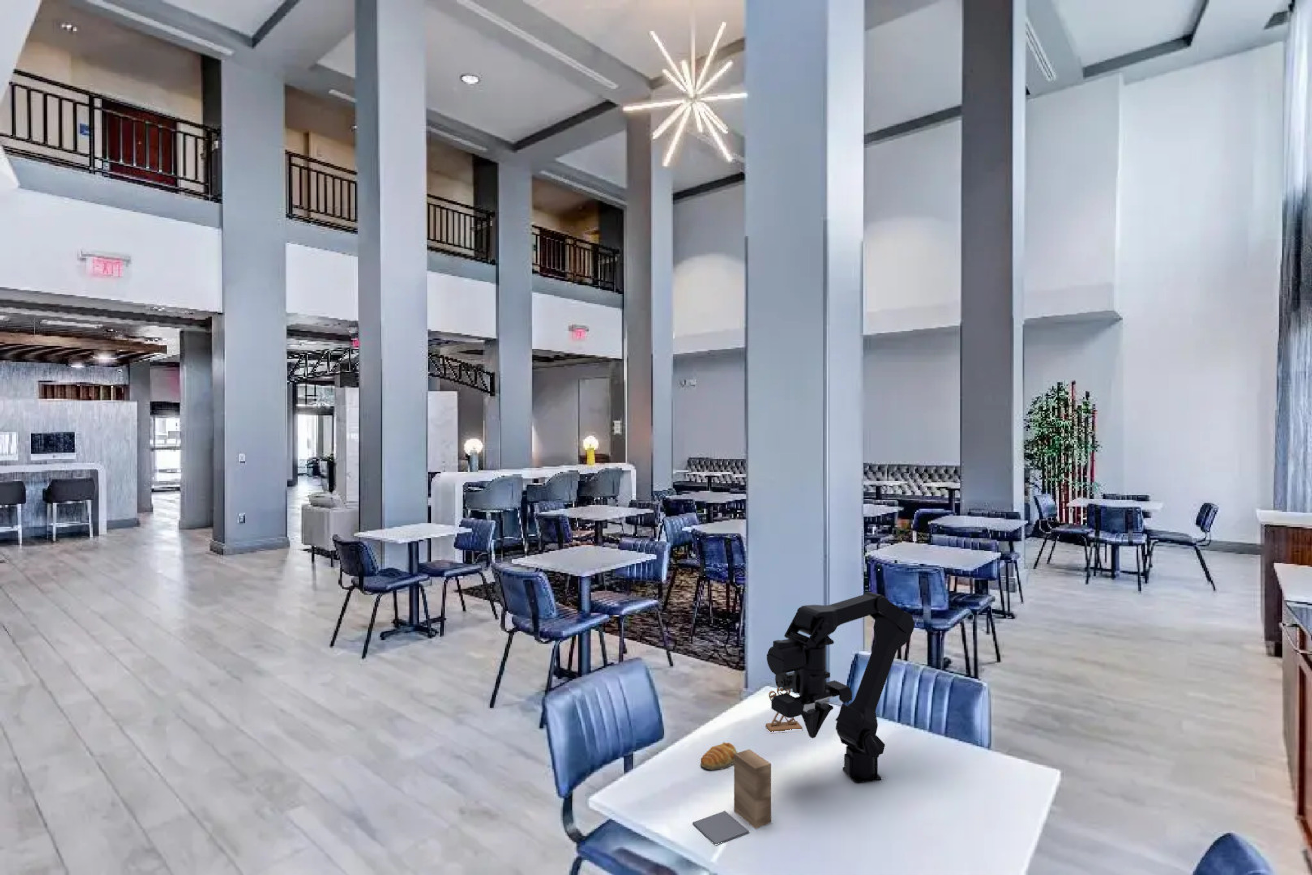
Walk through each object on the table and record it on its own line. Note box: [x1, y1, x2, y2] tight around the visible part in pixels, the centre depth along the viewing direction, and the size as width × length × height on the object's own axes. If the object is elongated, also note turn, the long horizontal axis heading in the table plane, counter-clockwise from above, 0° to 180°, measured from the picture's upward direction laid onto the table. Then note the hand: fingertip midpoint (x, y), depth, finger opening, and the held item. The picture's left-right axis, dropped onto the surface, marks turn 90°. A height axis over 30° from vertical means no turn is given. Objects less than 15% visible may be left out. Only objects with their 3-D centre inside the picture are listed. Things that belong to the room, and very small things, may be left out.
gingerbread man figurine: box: [765, 686, 803, 732], centre depth 178 cm, size 9×4×12 cm, turn 99°
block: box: [733, 748, 772, 830], centre depth 138 cm, size 4×7×12 cm, turn 30°
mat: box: [692, 810, 750, 845], centre depth 134 cm, size 8×8×1 cm
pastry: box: [700, 741, 738, 771], centre depth 160 cm, size 9×7×4 cm
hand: (812, 737), depth 147 cm, fingers closed
